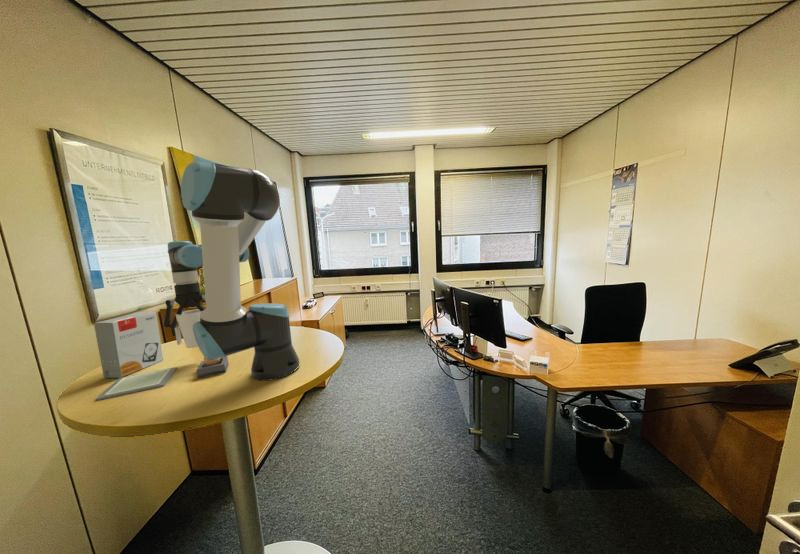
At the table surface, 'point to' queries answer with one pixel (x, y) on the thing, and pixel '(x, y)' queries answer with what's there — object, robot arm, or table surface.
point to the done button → (211, 362)
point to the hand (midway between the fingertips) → (196, 340)
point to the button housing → (212, 368)
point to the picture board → (138, 383)
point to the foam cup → (188, 326)
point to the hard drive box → (128, 343)
